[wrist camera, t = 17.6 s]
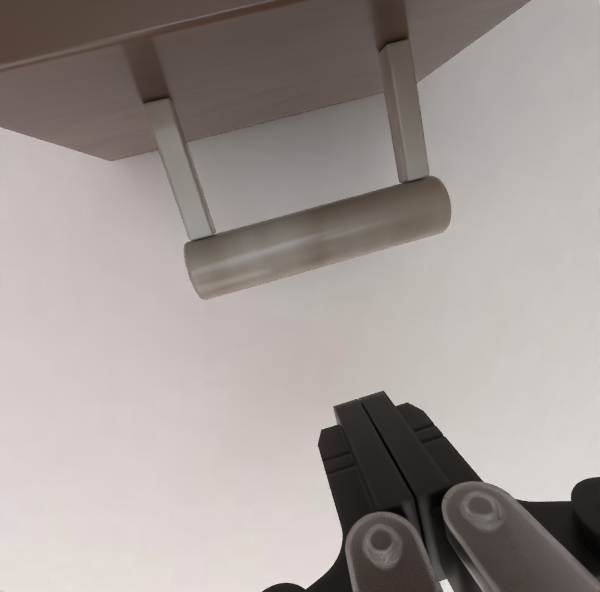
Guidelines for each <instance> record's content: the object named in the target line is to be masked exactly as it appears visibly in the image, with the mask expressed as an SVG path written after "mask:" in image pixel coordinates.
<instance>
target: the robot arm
mask: <svg viewBox="0 0 600 592" xmlns="http://www.w3.org/2000/svg"><path fill="white" fill-rule="evenodd" d="M333 408H334V412H335V416H336V420H337V424H338V425H335V426H332V427H329V428H326V429H323V430H321V434H320V438H319V442H318V447H319V450H320V454H321V457H322V461H323V464H324V468H325V471H326V475H327V478H328V482H329V485H330V489H331V492H332V495H333V499H334V502H335V506H336V509H337V513H338V516H339V520H340V523H341V527H342V532H343V540H342V547H341V550H340V553H339V556H338V558H337V560H336V561H335V563H334V565H333V566H332V567H331V568H330V570H329V571H328V572H327V573H326V574H324V575H323V576H322V577H321V578H320V579H318V580H317V581H316V582H315V583H313V584H312V585H311V586H310V587H308V588H307V589H306V590H305V589H304V588H302V587H300V586H299V585H296V584H292V583H280V584H276V585H273V586H271V587H269V588H267V589H265V590H264V591H262V592H443V590H442V587H441V585H440V583H439V581H442V580H444V579H448V581H449V583H450V585H451V587H452V589H453V591H454V592H600V477H595V478H589V479H585V480H583V481H581V482H579V483H578V484H576V486H575V487H574V488H573V490H572V493H571V501H556V502H528V501H521V500H517V499H514V498H513V497H512V496H511V495H510V494H509V493H507V492H506V491H504V490H503V489H501V488H499V487H497V486H495V485H492V484H489V483H485V482H483V481H482V480H481V479H480V477H479V476H478V475H477V474H476V473H475V472H474V470H473V469H472V468H471V467H470V466H469V464H468V463H467V462H466V461H465V460H464V458H463V457H462V456H461V455H460V454H459V453H458V451H457V450H456V449H455V448H454V447H453V445H452V444H451V443H450V442H449V441H448V440H447V438H446V437H444V436H443V434H442V432H441V431H440V430H439V429H438V428H437V427H436V426H435V425H434V423H433V422H432V421H431V419H430V418H429V417H428V416H427V415H426V414H425V412H424V411H423V410H421V409H419V408H417V407H415V406H413V405H411V404H409V403H404V404H401V405H398V406H395V405H394V404H393V403H392V401H391V400H390V399H389V397H388V396H387V394H386V393H385V392H384V391H381V392H378V393H374V394H371V395H368V396H365V397H362V398H359V400H358V399H356V400H352V401H349V402H346V403H343V404H340V405H336V406H333Z"/></svg>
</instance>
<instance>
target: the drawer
mask: <svg viewBox="0 0 600 592" xmlns="http://www.w3.org/2000/svg"><path fill="white" fill-rule="evenodd" d="M529 1H531V0H0V127H2V128H5V129H8V130H11V131H15V132H18V133H21V134H24V135H28V136H31V137H34V138H37V139H41V140H44V141H47V142H50V143H54V144H57V145H60V146H63V147H66V148H70V149H73V150H76V151H79V152H83V153H86V154H89V155H92V156H96V157H99V158H102V159H105V160H109V161H114V160H118V159H122V158H126V157H130V156H134V155H138V154H142V153H146V152H149V151H153V150H157V149H158V151H159V153H160V156H161V159H162V162H163V165H164V168H165V171H166V174H167V177H168V179H169V182H170V185H171V188H172V191H173V194H174V197H175V200H176V202H177V205H178V208H179V211H180V214H181V217H182V220H183V223H184V226H185V228H186V231H187V234H188V237H189V239H190V240H191V241H189V242H187V243H186V244H185V245H184V258H185V263H186V267H187V271H188V274H189V277H190V280H191V282H192V285H193V287H194V289H195V291H196V292H197V294H198V295H199V297H200V298H201V299H204V300H207V299H211V298H214V297H218V296H221V295H225V294H228V293H232V292H235V291H239V290H242V289H246V288H249V287H253V286H256V285H260V284H263V283H267V282H270V281H274V280H277V279H281V278H284V277H288V276H291V275H295V274H298V273H302V272H305V271H309V270H312V269H316V268H320V267H323V266H327V265H330V264H334V263H337V262H341V261H344V260H348V259H351V258H355V257H358V256H362V255H365V254H369V253H372V252H376V251H379V250H383V249H386V248H390V247H393V246H397V245H400V244H404V243H407V242H411V241H414V240H418V239H421V238H425V237H428V236H432V235H435V234H439V233H442V232H443V231H444V230H446V229H447V227H448V225H449V223H450V219H451V203H450V198H449V195H448V192H447V190H446V188H445V186H444V184H443V183H442V182H441V180H440V179H438V178H437V177H434V176H429V168H428V161H427V154H426V147H425V140H424V133H423V126H422V119H421V112H420V105H419V98H418V91H417V84H416V83H418V82H419V81H420V80H422V79H423V78H424V77H426V76H427V75H429V74H430V73H431V72H433V71H434V70H436V69H437V68H438V67H440V66H441V65H442V64H444V63H445V62H447V61H448V60H449V59H451V58H452V57H453V56H455V55H456V54H458V53H459V52H460V51H462V50H463V49H464V48H466V47H467V46H469V45H470V44H471V43H473V42H474V41H475V40H477V39H478V38H480V37H481V36H482V35H484V34H485V33H486V32H488V31H489V30H491V29H492V28H493V27H495V26H496V25H497V24H499V23H500V22H502V21H503V20H504V19H506V18H507V17H508V16H510V15H511V14H513V13H514V12H515V11H517V10H518V9H520V8H521V7H522V6H524V5H525V4H526V3H528V2H529ZM382 92H384V94H385V100H386V106H387V112H388V118H389V124H390V130H391V136H392V142H393V148H394V154H395V160H396V166H397V172H398V178H399V182H400V183H402V184H398V185H394V186H391V187H387V188H383V189H380V190H376V191H372V192H369V193H365V194H361V195H358V196H354V197H350V198H347V199H343V200H339V201H336V202H332V203H328V204H325V205H321V206H317V207H314V208H310V209H306V210H303V211H299V212H295V213H292V214H288V215H284V216H281V217H277V218H273V219H270V220H266V221H262V222H259V223H255V224H251V225H248V226H244V227H240V228H237V229H233V230H229V231H226V232H222V233H218V234H215V228H214V224H213V221H212V218H211V215H210V212H209V209H208V206H207V203H206V200H205V197H204V193H203V190H202V187H201V184H200V181H199V178H198V175H197V172H196V169H195V166H194V163H193V159H192V156H191V153H190V150H189V147H188V144H187V142H189V141H193V140H197V139H201V138H205V137H208V136H212V135H216V134H220V133H224V132H228V131H232V130H236V129H240V128H244V127H248V126H252V125H256V124H260V123H264V122H267V121H271V120H275V119H279V118H283V117H287V116H291V115H295V114H299V113H303V112H307V111H311V110H315V109H319V108H323V107H326V106H330V105H334V104H338V103H342V102H346V101H350V100H354V99H358V98H362V97H366V96H370V95H374V94H378V93H382ZM213 234H215V235H213Z"/></svg>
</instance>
